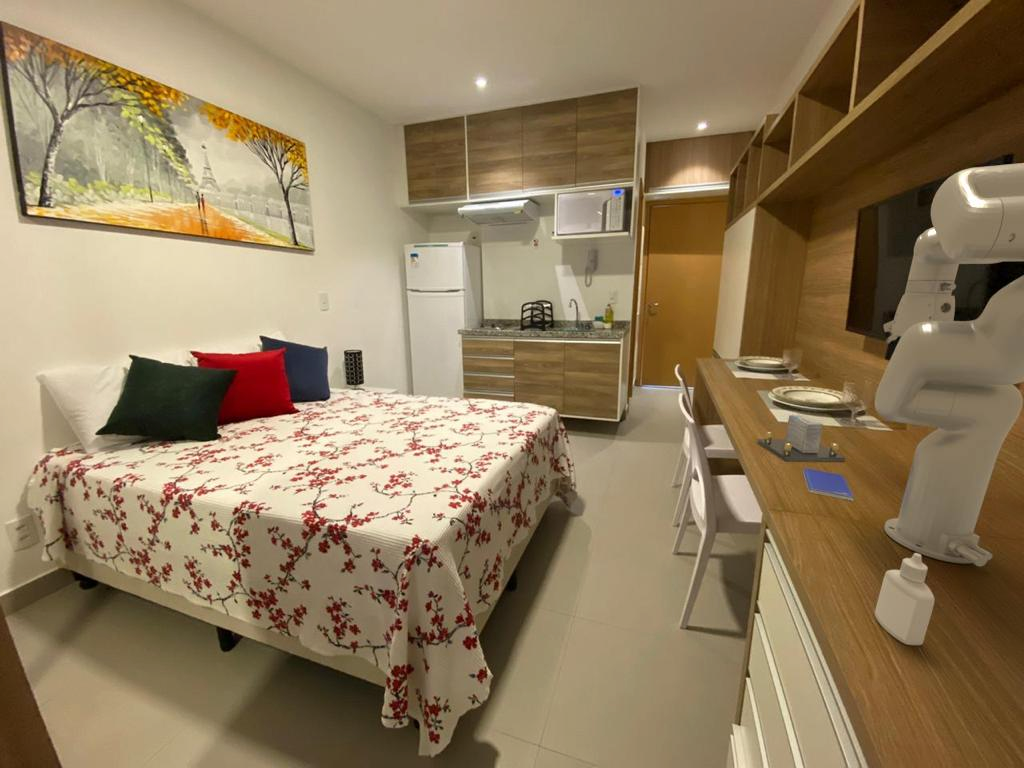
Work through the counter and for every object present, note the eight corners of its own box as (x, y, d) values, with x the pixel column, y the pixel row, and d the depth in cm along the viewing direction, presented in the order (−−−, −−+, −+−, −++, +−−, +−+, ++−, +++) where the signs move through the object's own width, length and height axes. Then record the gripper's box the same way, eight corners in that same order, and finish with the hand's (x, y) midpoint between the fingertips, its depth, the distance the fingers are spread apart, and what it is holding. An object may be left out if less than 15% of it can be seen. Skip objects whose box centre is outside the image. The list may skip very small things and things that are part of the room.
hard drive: (854, 497, 91) (843, 474, 102) (809, 488, 95) (803, 467, 105) (853, 503, 91) (842, 480, 102) (808, 494, 95) (802, 473, 106)
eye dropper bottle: (880, 637, 56) (901, 560, 53) (872, 610, 61) (890, 538, 58) (924, 652, 54) (948, 573, 51) (912, 622, 59) (933, 548, 56)
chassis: (844, 461, 111) (847, 447, 110) (785, 461, 111) (787, 446, 110) (810, 443, 124) (813, 429, 123) (757, 442, 124) (759, 429, 123)
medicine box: (818, 453, 113) (824, 423, 111) (802, 453, 113) (807, 423, 111) (799, 442, 121) (804, 414, 119) (783, 442, 121) (788, 414, 119)
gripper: (988, 289, 85) (965, 371, 89) (909, 288, 102) (893, 357, 106) (951, 289, 85) (930, 371, 89) (878, 288, 101) (864, 357, 106)
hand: (910, 363), depth 97 cm, fingers open, 9 cm apart
